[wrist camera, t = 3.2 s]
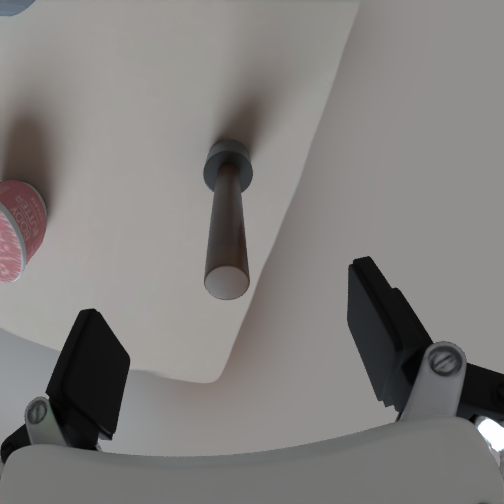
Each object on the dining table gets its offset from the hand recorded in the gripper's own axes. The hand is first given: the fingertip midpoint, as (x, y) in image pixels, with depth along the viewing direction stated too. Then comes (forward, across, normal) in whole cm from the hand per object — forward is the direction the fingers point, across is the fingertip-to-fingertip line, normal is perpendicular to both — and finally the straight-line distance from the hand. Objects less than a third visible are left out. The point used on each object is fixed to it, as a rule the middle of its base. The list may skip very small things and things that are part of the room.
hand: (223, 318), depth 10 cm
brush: (+21, 0, 0) cm, 21 cm away
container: (+21, +26, -2) cm, 33 cm away
